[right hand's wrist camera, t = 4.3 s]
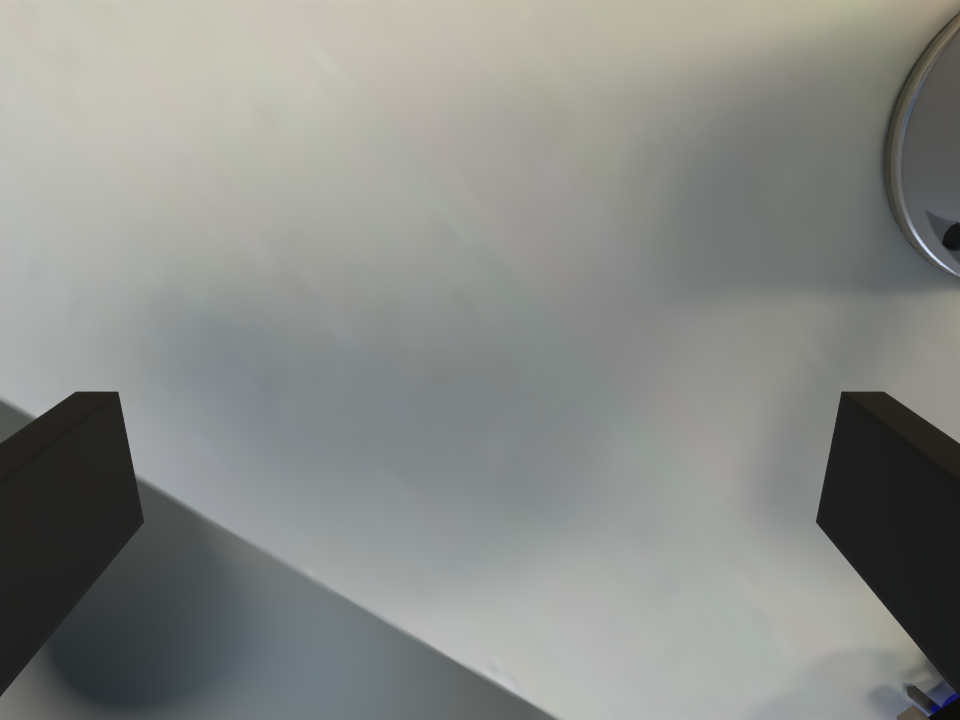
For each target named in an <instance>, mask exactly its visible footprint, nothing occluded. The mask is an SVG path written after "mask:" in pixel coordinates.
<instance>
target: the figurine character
mask: <svg viewBox="0 0 960 720" xmlns="http://www.w3.org/2000/svg"><path fill="white" fill-rule="evenodd" d="M907 692H908V696H909V697H910V698H912V699H913V700H914V701H915V702H916V703H918V704H919V705H920V706H921V707H922V708H924V709H925V710H926V711H927V712H929V713H930V714H931V716H929V717H927V716H926V715H925V714H924V713H923V712H922V711H921V710H919V709H918V708H917V707H915V706H912V707H910V708H909V709H907V710H906V711H904V712H903V713H901V714H900V715H898V716H897V720H960V696H959V695H958V694H957V693H955V694H953V695H952V696H950V697H949V698H948V699H947V700H946V701H945V703H944V704H943V706H942V708H941V707H940V706H938V705H937V704H936V703H934V702H933V701H932V700H931V699H930V698H928V697H927V696H926V695H925V694H924V693H922V692H921V691H920V690H919V689H918V688H916V686H907Z"/></svg>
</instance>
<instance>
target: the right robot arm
mask: <svg viewBox="0 0 960 720" xmlns="http://www.w3.org/2000/svg"><path fill="white" fill-rule="evenodd" d="M885 180H886V187H887V194H888V198H889V202H890V206H891V209H892V211H893V214H894V217H895V219H896V221H897V223H898V225H899V227H900V229H901V231H902V233H903V234H904V236H905V237H906V238H907V240H908V241H909V243H910V244H911V245H912V246H913V247H914V248H915V250H916V251H917V252H918V253H919V254H920V255H922V256H923V257H924V258H925V259H926V260H927V261H929V262H930V263H932V264H933V265H935V266H936V267H938V268H939V269H941V270H943V271H945V272H947V273H949V274H952V275H954V276H957V277H959V278H960V14H959V15H958V16H957V17H956V18H955V19H954V20H953V21H952V22H951V23H950V24H949V25H948V26H947V27H946V28H945V29H944V30H943V31H942V32H941V33H940V34H939V35H938V37H937V38H936V39H935V40H934V41H933V42H932V44H931V45H930V46H929V48H928V49H927V50H926V52H925V53H924V54H923V56H922V57H921V59H920V60H919V62H918V63H917V65H916V67H915V68H914V70H913V71H912V73H911V75H910V77H909V79H908V81H907V83H906V84H905V86H904V88H903V91H902V93H901V95H900V98H899V100H898V102H897V105H896V108H895V111H894V114H893V117H892V121H891V125H890V129H889V133H888V138H887V145H886V154H885ZM143 523H144V519H143V514H142V509H141V504H140V499H139V494H138V489H137V484H136V479H135V474H134V469H133V464H132V459H131V454H130V449H129V444H128V438H127V433H126V428H125V423H124V418H123V413H122V408H121V403H120V398H119V393H118V392H75V393H73V394H72V395H70V396H69V397H68V398H66V399H65V400H63V401H62V402H60V403H59V404H57V405H56V406H54V407H53V408H52V409H50V410H49V411H47V412H46V413H44V414H43V415H41V416H40V417H38V418H37V419H36V420H34V421H33V422H31V423H30V424H28V425H27V426H25V427H24V428H23V429H21V430H20V431H18V432H17V433H15V434H14V435H12V436H11V437H9V438H8V439H7V440H5V441H4V442H2V443H1V444H0V696H1V695H2V694H3V693H4V692H5V690H6V689H7V688H8V687H9V685H10V684H11V683H12V682H13V681H14V679H15V678H16V677H17V676H18V674H19V673H20V672H21V671H22V670H23V669H24V667H25V666H26V665H27V664H28V662H29V661H30V660H31V659H32V658H33V656H34V655H35V654H36V653H37V652H38V650H39V649H40V648H41V647H42V645H43V644H44V643H45V642H46V641H47V639H48V638H49V637H50V636H51V634H52V633H53V632H54V631H55V630H56V628H57V627H58V626H59V625H60V624H61V622H62V621H63V620H64V619H65V617H66V616H67V615H68V614H69V613H70V611H71V610H72V609H73V608H74V607H75V605H76V604H77V603H78V602H79V600H80V599H81V598H82V597H83V596H84V594H85V593H86V592H87V591H88V590H89V588H90V587H91V586H92V585H93V583H94V582H95V581H96V580H97V579H98V577H99V576H100V575H101V574H102V572H103V571H104V570H105V569H106V568H107V566H108V565H109V564H110V563H111V562H112V560H113V559H114V558H115V557H116V555H117V554H118V553H119V552H120V551H121V549H122V548H123V547H124V546H125V545H126V543H127V542H128V541H129V540H130V538H131V537H132V536H133V535H134V534H135V532H136V531H137V530H138V529H139V528H140V526H141V525H142V524H143ZM816 523H817V524H818V525H819V526H820V528H821V529H822V530H823V531H824V532H825V534H826V535H827V536H828V537H829V538H830V540H831V541H832V542H833V543H834V545H835V546H836V547H837V548H838V549H839V551H840V552H841V553H842V554H843V555H844V557H845V558H846V559H847V560H848V562H849V563H850V564H851V565H852V566H853V568H854V569H855V570H856V571H857V573H858V574H859V575H860V576H861V577H862V579H863V580H864V581H865V582H866V583H867V585H868V586H869V587H870V588H871V590H872V591H873V592H874V593H875V594H876V596H877V597H878V598H879V599H880V600H881V602H882V603H883V604H884V605H885V607H886V608H887V609H888V610H889V611H890V613H891V614H892V615H893V616H894V617H895V619H896V620H897V621H898V622H899V624H900V625H901V626H902V627H903V628H904V630H905V631H906V632H907V633H908V634H909V636H910V637H911V638H912V639H913V641H914V642H915V643H916V644H917V645H918V647H919V648H920V649H921V650H922V652H923V653H924V654H925V655H926V656H927V658H928V659H929V660H930V661H931V662H932V664H933V665H934V666H935V667H936V669H937V670H938V671H939V672H940V673H941V675H942V676H943V677H944V678H945V679H946V681H947V682H948V683H949V684H950V686H951V687H952V688H953V689H954V690H955V692H956V693H957V694H958V695H959V696H960V444H959V443H958V442H956V441H955V440H954V439H952V438H951V437H949V436H948V435H946V434H945V433H943V432H942V431H940V430H939V429H938V428H936V427H935V426H933V425H932V424H930V423H929V422H927V421H926V420H924V419H923V418H922V417H920V416H919V415H917V414H916V413H914V412H913V411H911V410H910V409H908V408H907V407H906V406H904V405H903V404H901V403H900V402H898V401H897V400H895V399H894V398H892V397H891V396H890V395H888V394H887V393H885V392H842V393H841V398H840V403H839V408H838V413H837V418H836V423H835V428H834V433H833V438H832V443H831V449H830V454H829V459H828V464H827V469H826V474H825V479H824V484H823V489H822V494H821V499H820V504H819V509H818V514H817V519H816Z"/></svg>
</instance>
